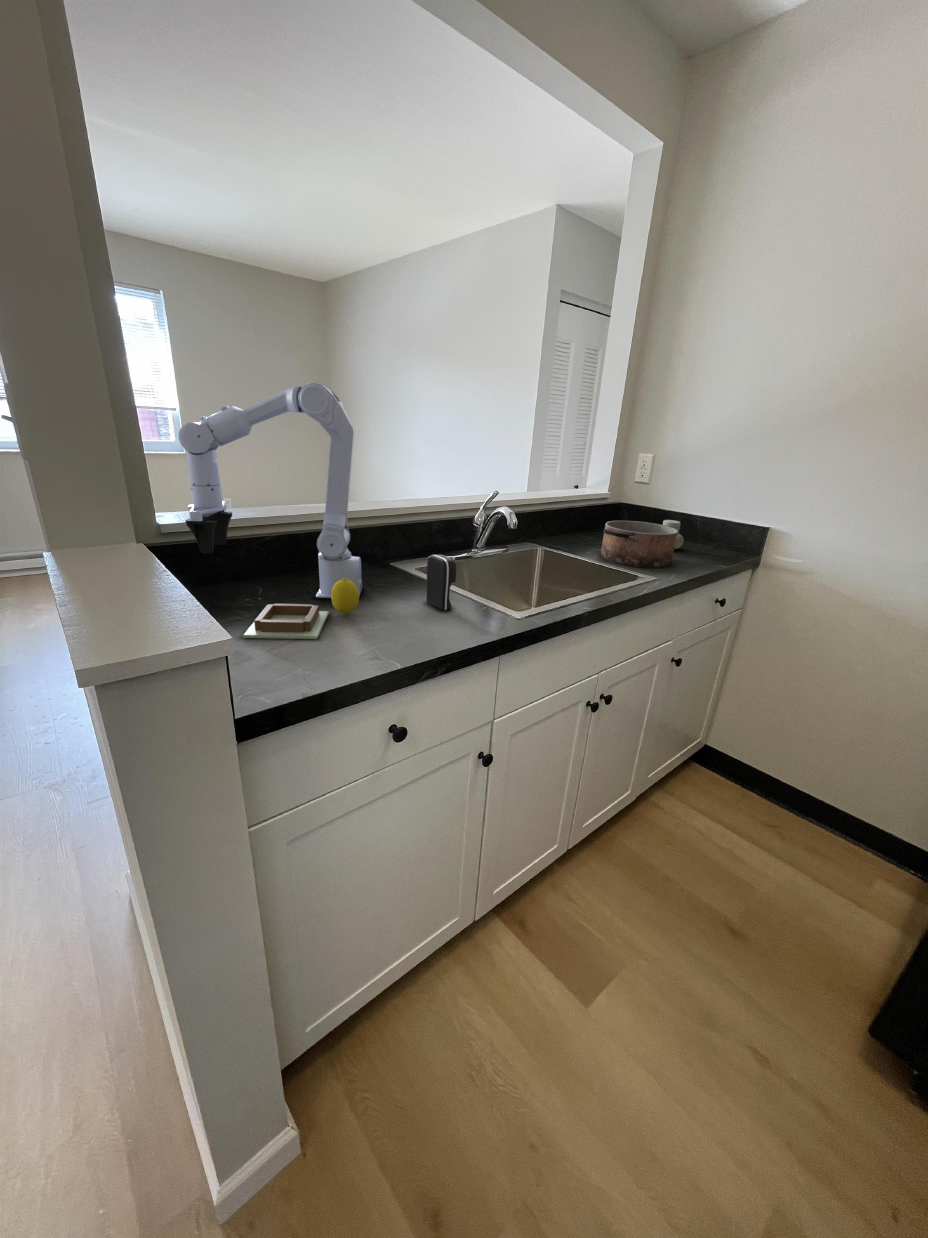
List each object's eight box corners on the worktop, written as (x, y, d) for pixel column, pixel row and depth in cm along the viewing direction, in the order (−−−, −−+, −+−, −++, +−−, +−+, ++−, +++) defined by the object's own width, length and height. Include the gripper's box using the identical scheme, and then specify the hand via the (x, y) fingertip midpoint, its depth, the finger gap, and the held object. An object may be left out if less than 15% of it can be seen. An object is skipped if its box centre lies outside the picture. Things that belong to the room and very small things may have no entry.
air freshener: (663, 544, 190) (669, 518, 186) (684, 549, 184) (690, 522, 181) (648, 547, 183) (653, 520, 180) (669, 552, 178) (675, 524, 174)
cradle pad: (328, 613, 103) (328, 602, 102) (317, 639, 91) (316, 626, 90) (264, 612, 101) (262, 600, 100) (243, 638, 89) (241, 624, 88)
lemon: (334, 610, 105) (332, 573, 102) (360, 610, 105) (360, 574, 102) (329, 619, 100) (328, 581, 97) (357, 620, 100) (356, 582, 97)
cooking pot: (635, 548, 181) (641, 518, 177) (691, 562, 164) (698, 530, 160) (578, 555, 164) (583, 523, 161) (634, 572, 148) (640, 537, 144)
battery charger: (456, 609, 110) (459, 558, 105) (442, 612, 107) (445, 560, 103) (438, 600, 115) (440, 551, 111) (425, 602, 112) (426, 553, 108)
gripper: (199, 480, 109) (207, 540, 114) (169, 487, 96) (180, 556, 101) (232, 481, 110) (239, 541, 115) (207, 489, 97) (216, 557, 102)
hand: (214, 548), depth 108 cm, fingers open, 7 cm apart
